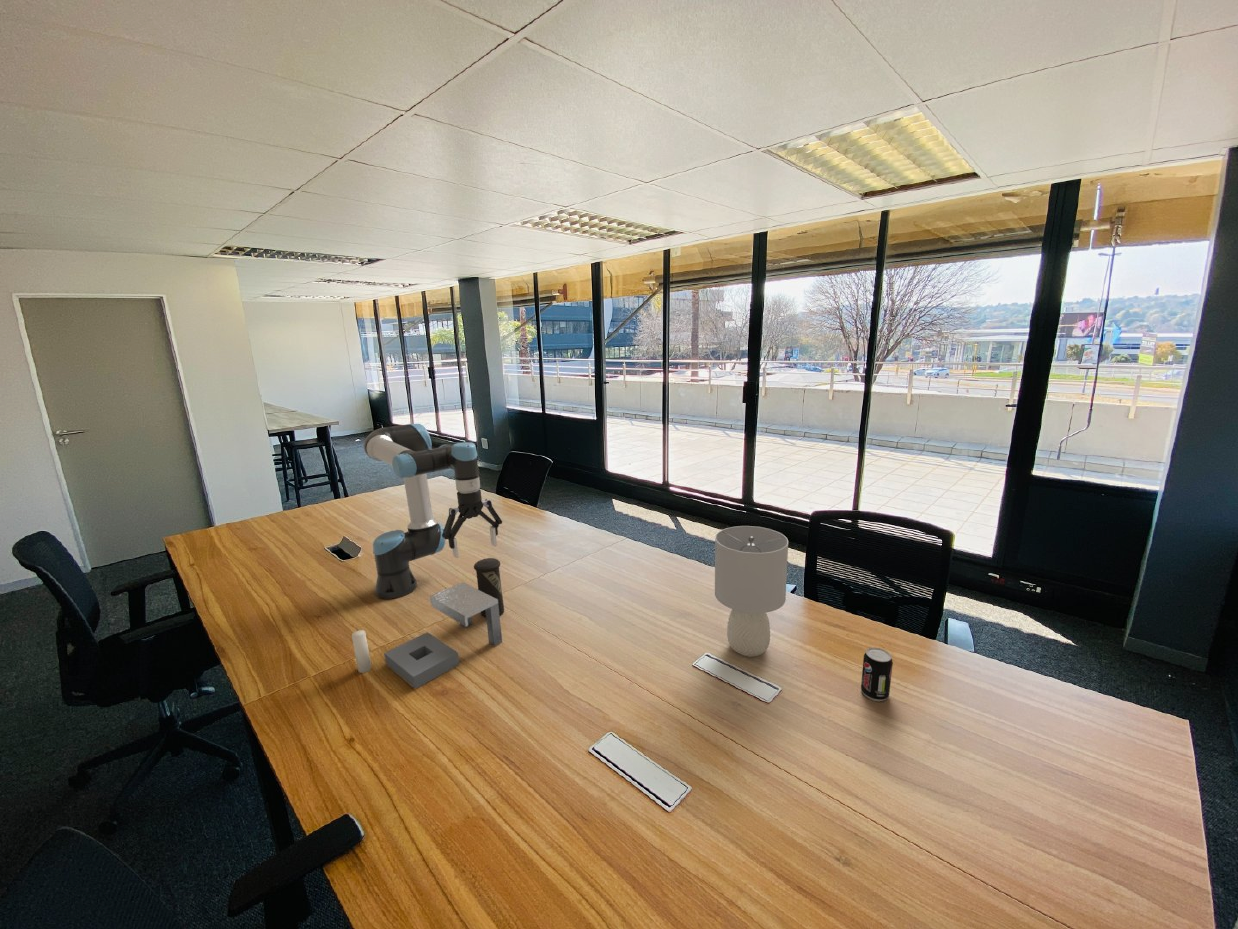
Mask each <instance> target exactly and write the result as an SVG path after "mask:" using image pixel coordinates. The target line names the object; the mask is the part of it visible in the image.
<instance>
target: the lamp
mask: <svg viewBox="0 0 1238 929" xmlns="http://www.w3.org/2000/svg"><path fill="white" fill-rule="evenodd" d="M788 550H789V540H788V537H786V536H785V535H784V534H783V533H782V532H779V531H776V530H773V529H771V528H766V527H762V526H755V525H754V526H752V525H751V526H750V525H740V526H739V525H738V526H732V527H730V526H729V527H727V528H724V529H721V530H720V531H718V532H717V533H715V538H714V597H715V599H716V600H717V601H718V602H719V603H720V604H722V605H723V606H725V607H727V608H729V609H730V610H731V611H730V613H729V615H728V621H727V627H726V636H727V637H726V638H727V642H728V645H729V647H730V648H731V649H732V650H733V651H734V652H735V653H738V654H739V655H741V656H743V657H744V656H745V657H749V658H751V657H754V658H755V657H758V656H760V655H762V654H764V653H765V652H767V650H768V648H769V646H770V641H771V625H770V620H769V616H768V614H767V613H772V612H775V611H776V610H778V609H781V608H782V607H783V606H784V605H785V603H786V601H787V600H786V596H787V580H788V579H787V577H788V554H789V551H788Z"/></svg>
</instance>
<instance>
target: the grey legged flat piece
mask: <svg viewBox="0 0 1238 929" xmlns="http://www.w3.org/2000/svg"><path fill="white" fill-rule="evenodd" d="M429 599H430V604H431V605H430V606H431V607H432V608H434V609H435V610H437V611H439V612H440V613H442V614H444V615H445V616H448V617H449V618H450V619H452V620H454V621H456V622H458V623H459V627H462V628H463V629H467V628H469V627H470V626H472V625H473V620H472V618H473V616H475V615H477V614H480V612H481V611H483V610H485V612H486V618H485V620H486V627H487V630H486V631H487V636H488V644H489V645H491V646H493V647H496V646H498V645H499V644H502V643H503V636H502V626H501V615H499V606H498V599H496V598H494V597H492V596H490V595H488V594H486V593H484V592H482V591H480V590H478V588H475V587H474V586H472V585H470V584H469V583H468V584H467V583H466V582H464V581H461V582H459V583H457V584H455V585H452V586H450V587H448V588H445V589H443V590H440V591H438V592H437V593H436V592H435V593H434V594H431V595H430V596H429Z"/></svg>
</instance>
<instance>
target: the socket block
mask: <svg viewBox="0 0 1238 929" xmlns="http://www.w3.org/2000/svg"><path fill="white" fill-rule="evenodd" d="M383 656H384V660H385V665H386V666H387V667H388V668H390V670H392V671H393V672H394V673H395V674H396V675H398V676H399V677H400V678H401V679H403V680H404V681H405V682H406V683H408V685H409V686H411V687H412V688H414V690H417V689H419V688H420V687H422V686H424V685H425V684H428V683H429V682H431V681H433V680H434V679H436V678H439V676H441V675H443V674H445V673H447V672H448V671H450V670H452V669H454V668H455V667H457V666H459V665H460V659H459V658H460V657H459V652H458V651H456V649H453V647H450V646H449V645H447V644H446V643H444V642H443V641H441V640H440V639H438V638H437V637H436V636H435V635H432V634H431V633H429V632H428V631H427V632H425V633H422V634H420V635H418V636H416V637H414V638H411V640H408V641H406V642H404V643H402V644H400V645H398V646H396V647H394V648H391V649H389V650H388V651H385V652H384V655H383Z"/></svg>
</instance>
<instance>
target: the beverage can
mask: <svg viewBox="0 0 1238 929" xmlns="http://www.w3.org/2000/svg"><path fill="white" fill-rule="evenodd" d="M893 664H894V661H893V658H892V655H891V654H890V653H889V652H888V651H887V650H885V649H883V648H879V647H869V648H866V650H865V653H864V654H863V661H862V670H861V671H862V672H861V682H860V691H861V693H863V695H864V696H865V697H866V698H868V699H869V700H872V701H874V702H883V701H886V700H888V698H889V697H890V693H891V685H892V684H891V682H892V675H893V674H892V673H893Z"/></svg>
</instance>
